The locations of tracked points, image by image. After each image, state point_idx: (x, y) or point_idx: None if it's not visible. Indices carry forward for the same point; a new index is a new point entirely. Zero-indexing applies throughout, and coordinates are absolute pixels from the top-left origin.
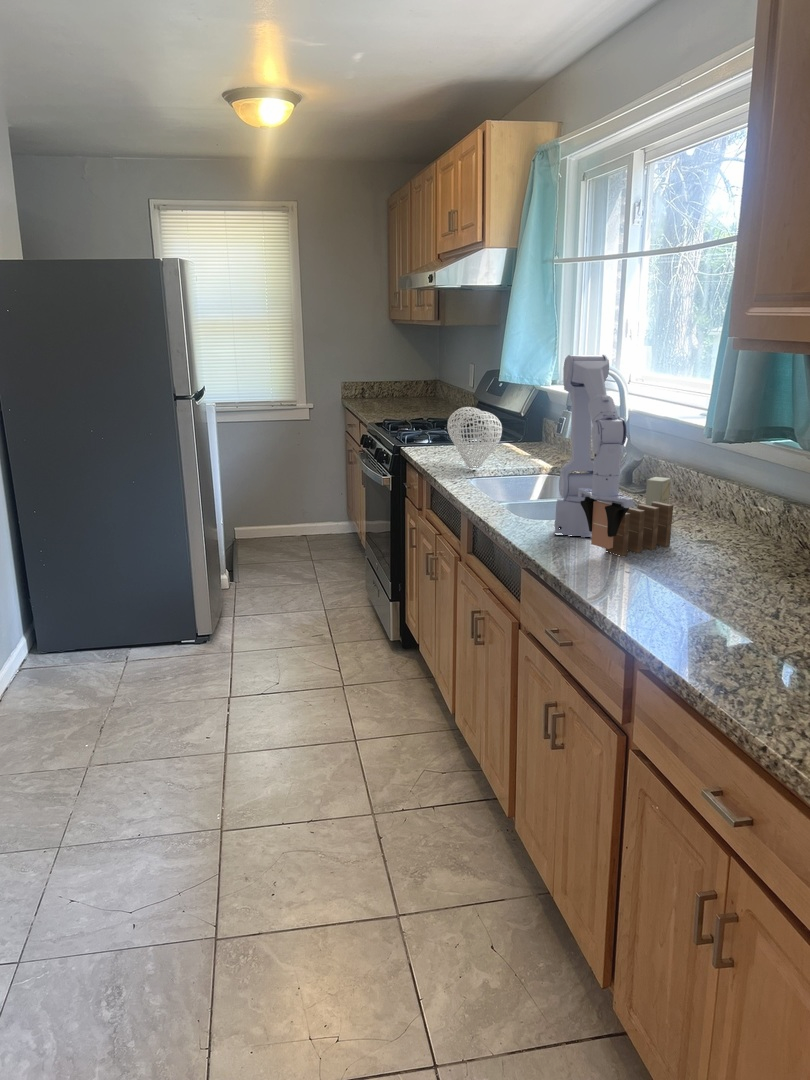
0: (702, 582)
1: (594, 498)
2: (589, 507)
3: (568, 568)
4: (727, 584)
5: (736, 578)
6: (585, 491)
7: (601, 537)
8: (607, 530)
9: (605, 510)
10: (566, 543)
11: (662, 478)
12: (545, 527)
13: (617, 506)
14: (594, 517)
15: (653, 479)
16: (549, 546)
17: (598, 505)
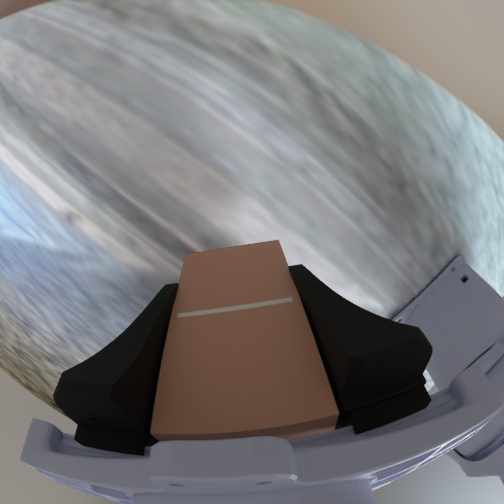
0: (11, 310)
1: (166, 445)
2: (334, 352)
3: (172, 52)
4: (8, 331)
5: (36, 362)
6: (441, 441)
7: (221, 270)
8: (169, 296)
9: (197, 391)
10: (409, 239)
11: (375, 488)
12: (489, 275)
13: (93, 429)
14: (292, 325)
15: (383, 484)
16: (419, 173)
17: (275, 404)
